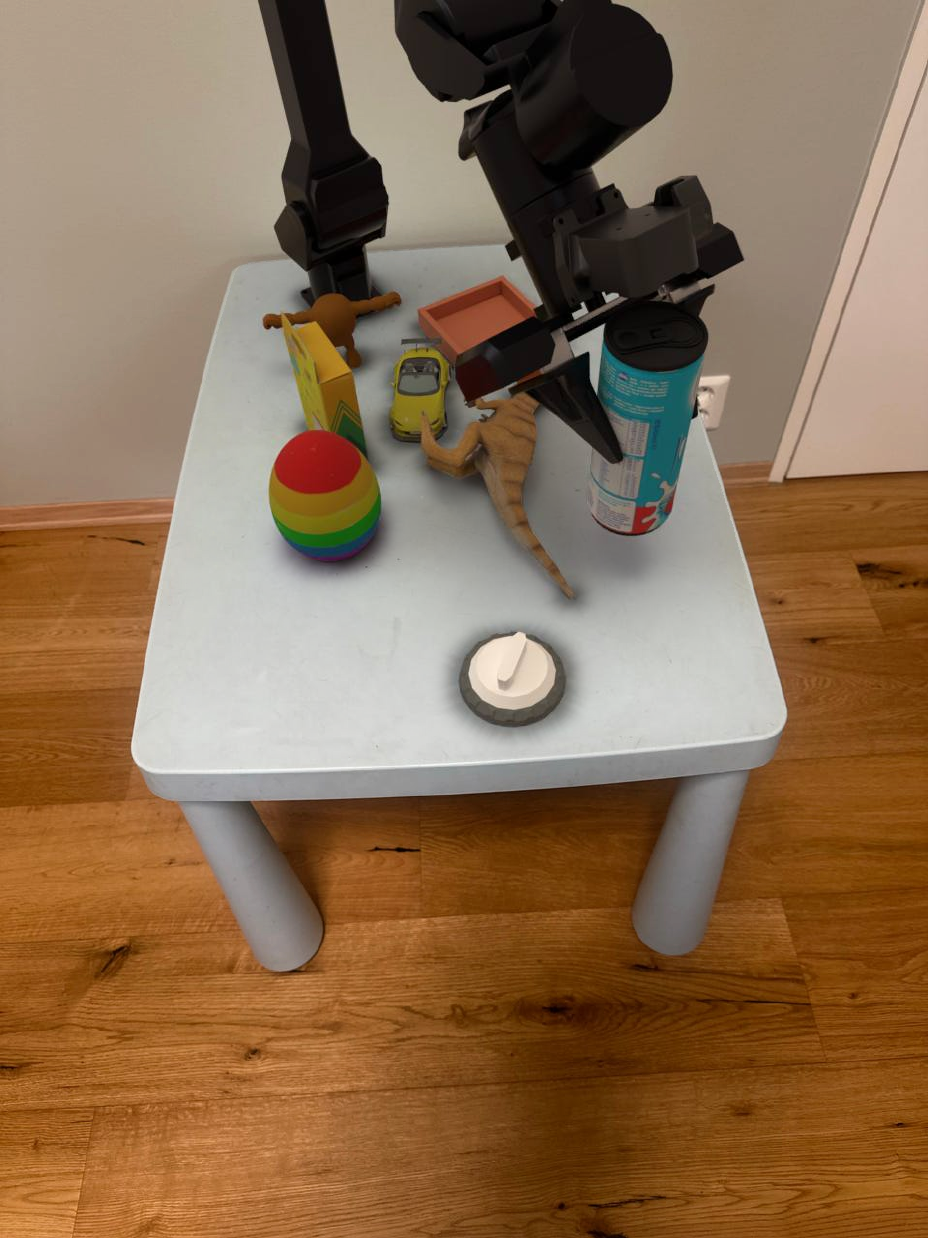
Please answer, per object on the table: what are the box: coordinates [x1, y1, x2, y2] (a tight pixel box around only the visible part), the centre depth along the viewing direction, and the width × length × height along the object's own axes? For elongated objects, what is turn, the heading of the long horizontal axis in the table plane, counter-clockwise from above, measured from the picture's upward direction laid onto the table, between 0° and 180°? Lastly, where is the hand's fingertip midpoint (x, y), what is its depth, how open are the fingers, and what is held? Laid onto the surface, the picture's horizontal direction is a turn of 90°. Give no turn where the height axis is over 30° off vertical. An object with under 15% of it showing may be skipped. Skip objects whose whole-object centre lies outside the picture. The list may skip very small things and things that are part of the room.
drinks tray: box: [417, 274, 537, 367], centre depth 85 cm, size 9×9×2 cm
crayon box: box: [280, 310, 370, 463], centre depth 73 cm, size 7×3×12 cm, turn 27°
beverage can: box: [586, 301, 709, 537], centre depth 59 cm, size 6×6×15 cm
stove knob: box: [458, 631, 566, 727], centre depth 63 cm, size 7×7×3 cm
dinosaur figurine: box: [420, 382, 574, 601], centre depth 72 cm, size 7×22×12 cm
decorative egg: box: [268, 430, 382, 562], centre depth 68 cm, size 8×8×10 cm
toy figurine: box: [262, 290, 403, 369], centre depth 81 cm, size 12×4×7 cm, turn 102°
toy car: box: [388, 337, 452, 442], centre depth 79 cm, size 5×10×3 cm, turn 178°
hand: (655, 440), depth 58 cm, fingers closed on beverage can, 6 cm apart
